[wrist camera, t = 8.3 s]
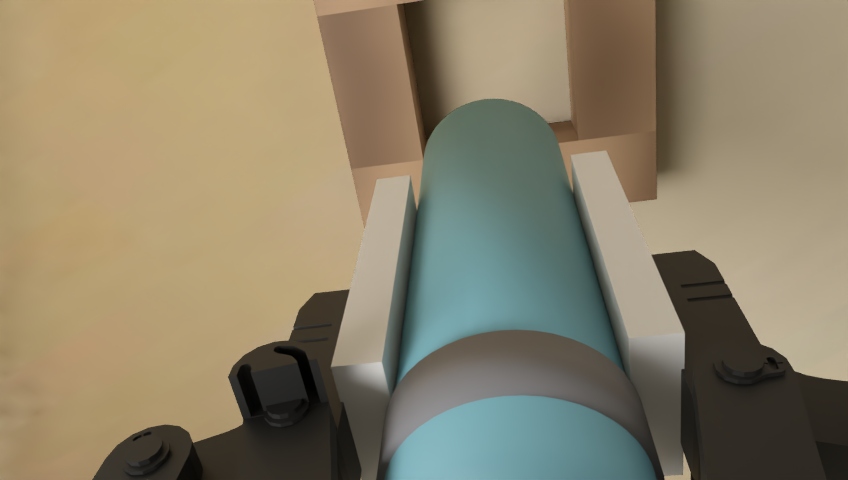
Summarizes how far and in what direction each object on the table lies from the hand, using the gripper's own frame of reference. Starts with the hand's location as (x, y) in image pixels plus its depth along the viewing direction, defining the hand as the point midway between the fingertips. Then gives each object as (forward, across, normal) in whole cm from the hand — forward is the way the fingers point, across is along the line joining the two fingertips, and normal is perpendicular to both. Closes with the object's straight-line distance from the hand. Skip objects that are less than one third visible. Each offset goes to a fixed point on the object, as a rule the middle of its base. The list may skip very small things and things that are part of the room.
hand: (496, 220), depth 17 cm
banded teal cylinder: (+3, 0, 0) cm, 3 cm away
